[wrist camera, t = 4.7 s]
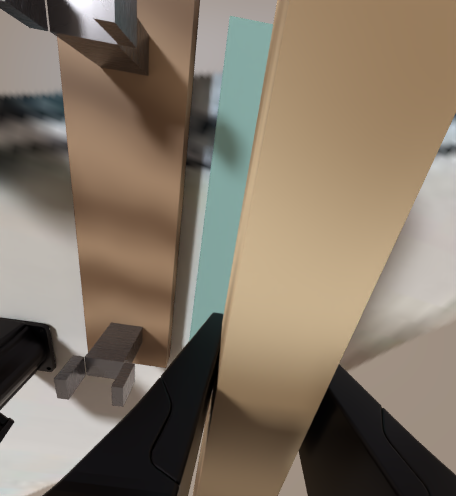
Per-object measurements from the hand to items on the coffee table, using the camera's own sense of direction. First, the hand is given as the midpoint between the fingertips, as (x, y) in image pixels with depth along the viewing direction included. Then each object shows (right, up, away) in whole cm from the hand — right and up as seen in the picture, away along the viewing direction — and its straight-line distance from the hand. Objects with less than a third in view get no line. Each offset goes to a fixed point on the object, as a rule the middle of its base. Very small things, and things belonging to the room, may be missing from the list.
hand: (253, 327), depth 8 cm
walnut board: (-9, +5, +10) cm, 15 cm away
